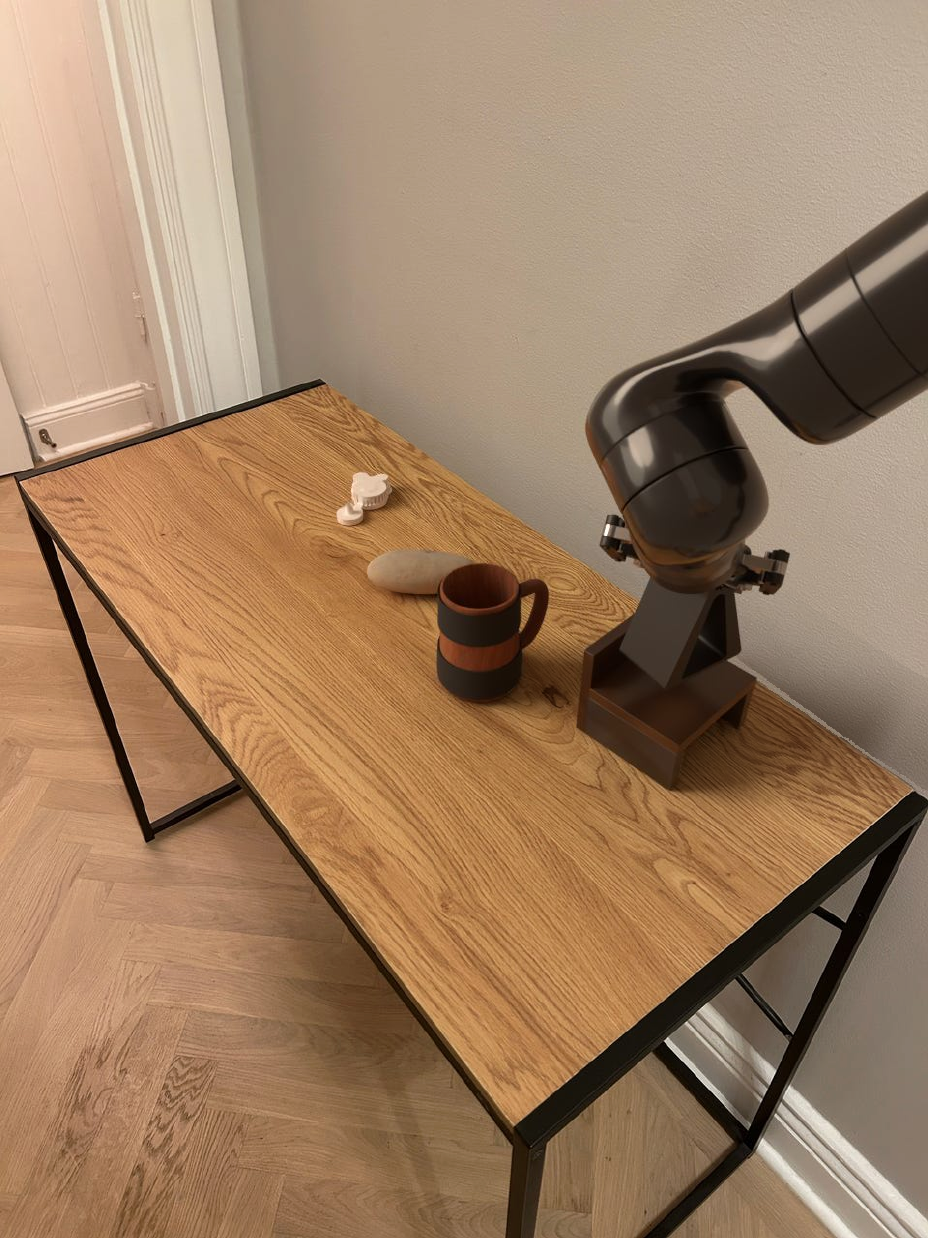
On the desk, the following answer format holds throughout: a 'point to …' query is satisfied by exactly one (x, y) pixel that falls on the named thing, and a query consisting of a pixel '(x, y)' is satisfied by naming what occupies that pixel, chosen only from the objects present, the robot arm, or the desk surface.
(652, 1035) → the desk surface
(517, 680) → the mug
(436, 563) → the stone
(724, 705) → the shelf
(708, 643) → the phone stand
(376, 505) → the white rounded lumpy shapes
